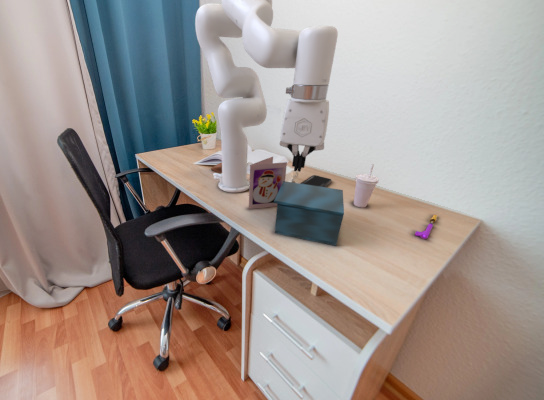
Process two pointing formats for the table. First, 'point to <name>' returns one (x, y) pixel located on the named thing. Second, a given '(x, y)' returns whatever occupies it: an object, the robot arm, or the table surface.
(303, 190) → the lid
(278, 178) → the greeting card
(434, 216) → the purple bent handle tool
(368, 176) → the smoothie
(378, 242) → the table surface
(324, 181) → the phone
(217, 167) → the sunglasses case
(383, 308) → the table surface
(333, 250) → the table surface
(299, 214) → the keepsake box
